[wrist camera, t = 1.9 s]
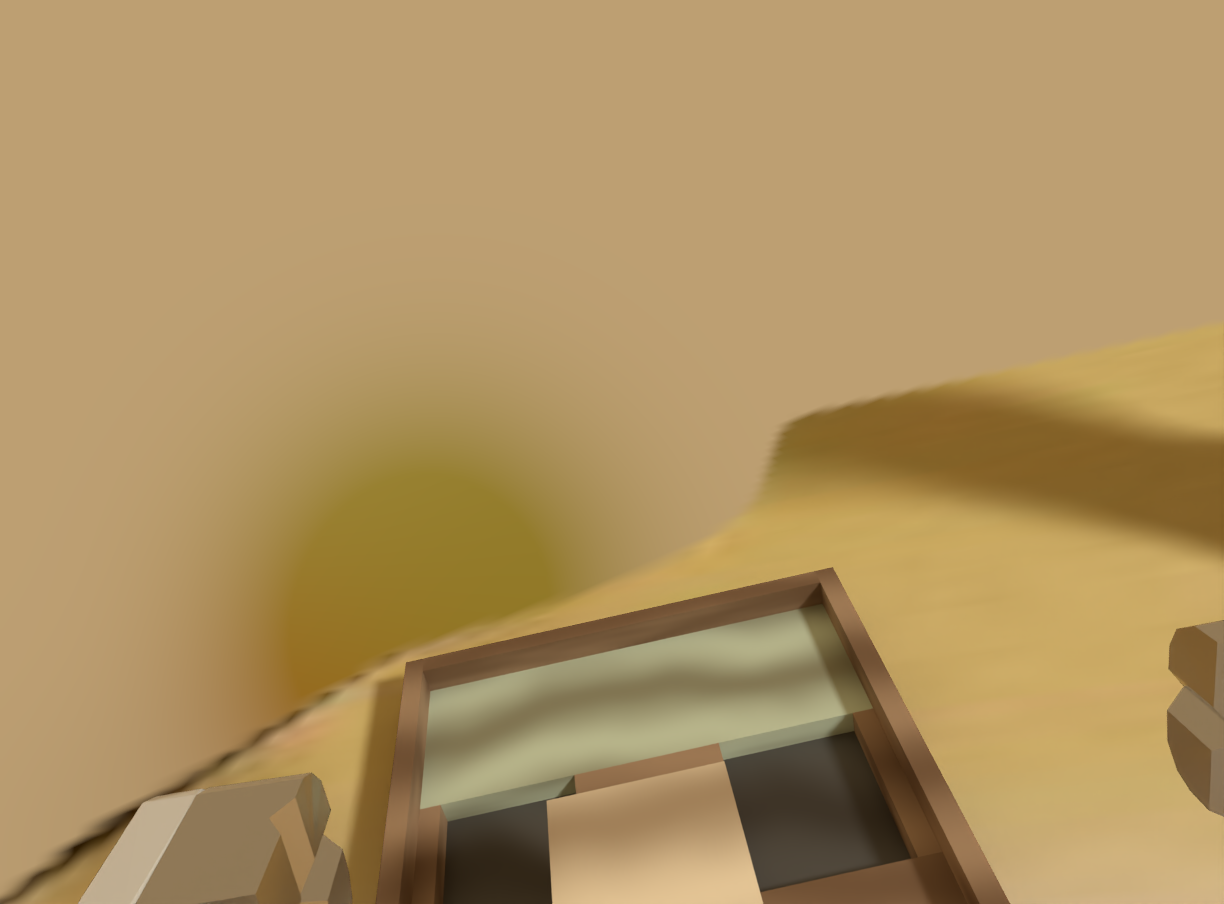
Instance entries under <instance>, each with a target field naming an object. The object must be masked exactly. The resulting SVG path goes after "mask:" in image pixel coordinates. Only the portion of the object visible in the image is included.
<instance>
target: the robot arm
mask: <svg viewBox="0 0 1224 904" xmlns="http://www.w3.org/2000/svg"><path fill="white" fill-rule="evenodd" d="M1168 669H1169V670H1170V671H1171V672H1172V674H1173V675H1174V676H1175V677H1176V678H1177V679H1178V680H1179V682H1180V683H1181V684H1182V685H1183V686H1184V687H1183V688H1182V690H1181V691H1180V693H1179V694H1178V695H1177V697H1176V698H1175V700H1174V701H1173V703H1172V704H1171V705H1170V707H1169V708H1168V710H1167V737H1168V744H1169V747H1170V750H1171V753H1172V756H1173V759H1174V762H1175V765H1176V768H1177V771H1178V772H1179V774H1180V775H1181V777H1182V779H1183V780H1184V782H1185V783H1186V785H1187V786H1188V788H1189V790H1190V791H1191V792H1192V793H1193V794H1194V795H1195V796H1196V797H1197V798H1198V800H1199V801H1200V802H1201V803H1202V804H1203V805H1204V806H1205V807H1206V808H1207V809H1208V810H1209V811H1212V812H1214V813H1216V814H1219V815H1221V816H1224V620H1221V621H1216V622H1211V623H1205V624H1200V625H1195V626H1190V627H1184V628H1179V629H1176V632H1175V634H1174V636H1173V639H1172V641H1171V643H1170V648H1169V668H1168ZM330 812H331V809H330V806H329V803H328V800H327V797H326V794H325V791H324V788H323V785H322V782H321V780H320V779H318V778H317V777H316V776H315V775H314V774H312V773H306V774H299V775H292V776H286V777H279V778H272V779H265V780H258V781H252V782H245V783H238V784H231V785H224V786H218V787H211V788H208V789H206V790H205V789H196V790H190V791H185V792H179V793H173V794H168V795H162V796H157V797H154V798H152V799H150V800H148V801H145V802H143V803H142V804H141V806H140V807H139V809H138V810H137V812H136V814H135V815H134V817H133V818H132V820H131V821H130V823H129V824H128V826H127V828H126V829H125V831H124V832H123V834H122V835H121V837H120V838H119V840H118V842H117V843H116V845H115V846H114V848H113V849H112V851H111V852H110V854H109V856H108V857H107V859H106V860H105V862H104V863H103V865H102V866H101V868H100V870H99V871H98V873H97V874H96V876H95V877H94V879H93V880H92V882H91V884H90V885H89V887H88V888H87V890H86V891H85V893H84V895H83V896H82V898H81V899H80V901H79V902H78V904H352V892H351V884H350V877H349V871H348V867H347V863H346V860H345V856H344V853H343V849H341V848H340V847H339V846H337V845H336V844H335V843H334V842H332V841H331V840H330V839H328V838H327V837H326V836H324V835H323V833H324V830H325V827H326V824H327V821H328V818H329V815H330Z"/></svg>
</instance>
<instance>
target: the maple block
mask: <svg viewBox="0 0 1224 904" xmlns="http://www.w3.org/2000/svg"><path fill="white" fill-rule="evenodd" d="M547 817H548V834H549V852H550V870H551V888H552V904H763V901H762V897H761V894H760V890H759V886H758V883H757V879H756V875H755V872H754V868H753V864H752V861H751V857H750V853H749V850H748V846H747V842H746V839H745V835H744V831H743V828H742V824H741V820H740V817H739V813H738V809H737V806H736V802H735V798H734V795H733V791H732V787H731V784H730V780H729V776H728V773H727V769H726V765H725V762H724V761H722V762H718V763H713V764H709V765H705V766H700V767H696V768H691V769H687V770H682V771H678V772H673V773H669V774H664V775H660V776H655V777H651V778H646V779H642V780H637V781H633V782H628V783H624V784H619V785H615V786H610V787H606V788H601V789H597V790H592V791H588V792H583V793H579V794H574V795H570V796H565V797H561V798H557V799H552V800H548V801H547Z"/></svg>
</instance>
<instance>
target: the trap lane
mask: <svg viewBox="0 0 1224 904" xmlns="http://www.w3.org/2000/svg"><path fill="white" fill-rule="evenodd" d="M722 761H724V762H725V765H726V769H727V773H728V776H729V780H730V784H731V787H732V791H733V795H734V798H735V802H736V806H737V809H738V813H739V817H740V820H741V824H742V828H743V831H744V835H745V839H746V842H747V846H748V850H749V853H750V857H751V861H752V864H753V868H754V872H755V875H756V879H757V883H758V886H759V890H760V894H761V897H762V901H763V904H1010V903H1009V901H1008V899H1007V897H1006V895H1005V893H1004V891H1003V890H1002V888H1001V886H1000V884H999V882H998V880H997V878H996V876H995V874H994V872H993V871H992V869H991V867H990V865H989V863H988V861H987V859H986V857H985V855H984V853H983V852H982V850H981V848H980V846H979V844H978V842H977V840H976V838H975V836H974V834H973V833H972V831H971V829H970V827H969V825H968V823H967V821H966V819H965V817H964V816H963V814H962V812H961V810H960V808H959V806H958V804H957V802H956V800H955V798H954V797H953V795H952V793H951V791H950V789H949V787H948V785H947V783H946V781H945V779H944V778H943V776H942V774H941V772H940V770H939V768H938V766H937V764H936V762H935V760H934V759H933V757H932V755H931V753H930V751H929V749H928V747H927V745H926V743H925V742H924V740H923V738H922V736H921V734H920V732H919V730H918V728H917V726H916V724H915V723H914V721H913V719H912V717H911V715H910V713H909V711H908V709H907V707H906V705H905V704H904V702H903V700H902V698H901V696H900V694H899V692H898V690H897V688H896V686H895V685H894V683H893V681H892V679H891V677H890V675H889V673H888V671H887V669H886V668H885V666H884V664H883V662H882V660H881V658H880V656H879V654H878V652H877V650H876V649H875V647H874V645H873V643H872V641H871V639H870V637H869V635H868V633H867V631H866V630H865V628H864V626H863V624H862V622H861V620H860V618H859V616H858V614H857V612H856V611H855V609H854V607H853V605H852V603H851V601H850V599H849V597H848V595H847V594H846V592H845V590H844V588H843V586H842V584H841V582H840V580H839V578H838V576H837V575H836V573H835V571H834V569H833V567H832V568H827V569H823V570H819V571H814V572H810V573H805V574H801V575H796V576H792V577H787V578H783V579H778V580H774V581H769V582H765V583H760V584H756V585H751V586H747V587H742V588H738V589H733V590H729V591H725V592H720V593H716V594H711V595H707V596H702V597H698V598H693V599H689V600H684V601H680V602H675V603H671V604H666V605H662V606H657V607H653V608H648V609H644V610H639V611H635V612H631V613H626V614H622V615H617V616H613V617H608V618H604V619H599V620H595V621H590V622H586V623H581V624H577V625H572V626H568V627H563V628H559V629H554V630H550V631H545V632H541V633H537V634H532V635H528V636H523V637H519V638H514V639H510V640H505V641H501V642H496V643H492V644H487V645H483V646H478V647H474V648H469V649H465V650H460V651H456V652H451V653H447V654H443V655H438V656H434V657H429V658H425V659H420V660H416V661H411V662H407V663H406V667H405V675H404V683H403V691H402V699H401V707H400V715H399V723H398V731H397V739H396V747H395V755H394V763H393V770H392V778H391V786H390V794H389V802H388V810H387V818H386V826H385V834H384V842H383V850H382V858H381V866H380V874H379V882H378V890H377V898H376V904H552V888H551V870H550V852H549V834H548V817H547V801H548V800H552V799H557V798H561V797H565V796H570V795H574V794H579V793H583V792H588V791H592V790H597V789H601V788H606V787H610V786H615V785H619V784H624V783H628V782H633V781H637V780H642V779H646V778H651V777H655V776H660V775H664V774H669V773H673V772H678V771H682V770H687V769H691V768H696V767H700V766H705V765H709V764H713V763H718V762H722Z"/></svg>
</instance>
